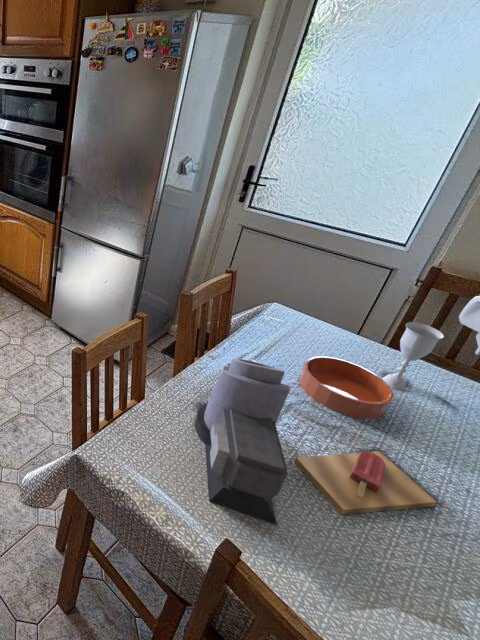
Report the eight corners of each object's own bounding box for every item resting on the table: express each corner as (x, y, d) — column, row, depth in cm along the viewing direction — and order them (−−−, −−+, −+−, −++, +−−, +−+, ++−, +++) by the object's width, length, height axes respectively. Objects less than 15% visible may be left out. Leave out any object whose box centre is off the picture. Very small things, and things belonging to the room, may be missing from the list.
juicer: (193, 399, 110) (215, 323, 99) (264, 418, 104) (296, 340, 93) (197, 497, 85) (228, 410, 75) (290, 529, 79) (337, 440, 69)
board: (376, 455, 94) (379, 450, 93) (433, 506, 83) (437, 502, 82) (293, 461, 93) (295, 457, 92) (340, 514, 82) (343, 509, 81)
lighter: (220, 377, 117) (227, 355, 114) (220, 373, 119) (228, 351, 115) (249, 386, 114) (258, 363, 110) (249, 382, 115) (258, 360, 112)
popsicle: (346, 485, 84) (361, 446, 93) (343, 491, 85) (358, 451, 93) (376, 502, 81) (388, 459, 89) (372, 507, 81) (385, 464, 90)
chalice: (419, 394, 111) (452, 339, 103) (390, 391, 112) (420, 337, 104) (397, 375, 117) (427, 323, 109) (370, 373, 118) (398, 321, 110)
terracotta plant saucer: (341, 368, 120) (348, 354, 118) (404, 416, 104) (413, 401, 102) (283, 371, 119) (288, 358, 117) (337, 420, 103) (345, 406, 101)
